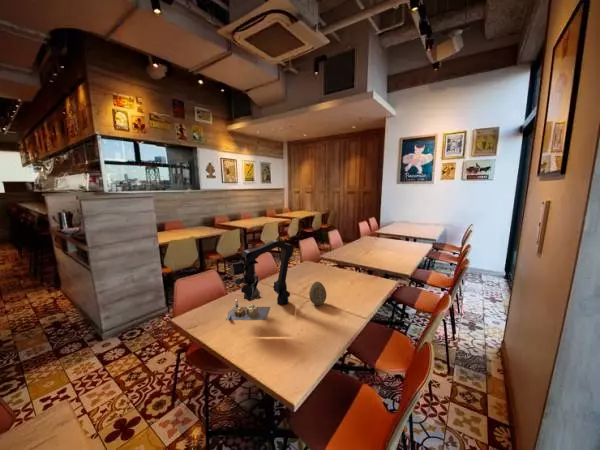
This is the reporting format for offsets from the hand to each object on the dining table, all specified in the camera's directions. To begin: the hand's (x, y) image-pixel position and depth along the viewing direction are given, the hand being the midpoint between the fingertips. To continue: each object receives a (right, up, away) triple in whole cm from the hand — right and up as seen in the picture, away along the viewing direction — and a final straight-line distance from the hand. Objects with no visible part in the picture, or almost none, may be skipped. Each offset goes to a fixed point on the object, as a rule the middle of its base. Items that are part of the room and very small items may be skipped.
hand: (251, 297), depth 140 cm
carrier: (-2, -11, +2) cm, 11 cm away
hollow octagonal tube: (0, -10, +1) cm, 10 cm away
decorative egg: (+40, -8, +12) cm, 42 cm away
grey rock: (-4, -8, +24) cm, 26 cm away
